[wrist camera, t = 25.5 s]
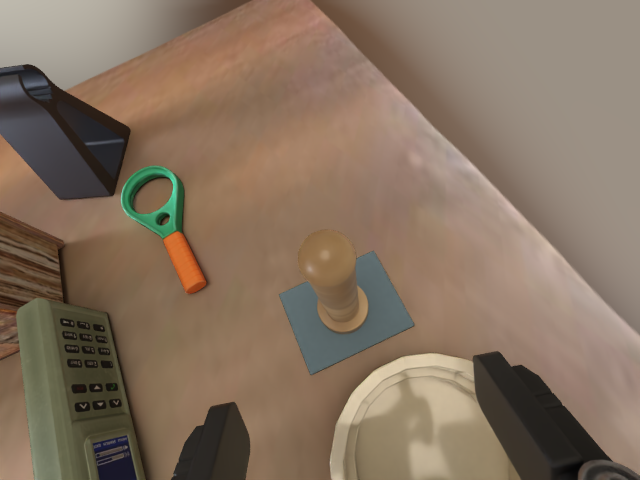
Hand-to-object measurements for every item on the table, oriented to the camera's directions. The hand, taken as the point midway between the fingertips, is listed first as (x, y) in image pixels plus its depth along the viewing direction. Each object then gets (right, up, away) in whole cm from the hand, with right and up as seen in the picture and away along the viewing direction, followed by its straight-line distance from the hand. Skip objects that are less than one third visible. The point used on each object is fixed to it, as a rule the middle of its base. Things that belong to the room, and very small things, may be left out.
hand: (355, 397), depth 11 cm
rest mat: (+1, -1, +17) cm, 17 cm away
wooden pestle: (+1, 0, +16) cm, 16 cm away
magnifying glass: (-16, +6, +22) cm, 28 cm away
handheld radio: (-16, -12, +15) cm, 25 cm away
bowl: (+6, -10, +12) cm, 17 cm away
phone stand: (-26, +14, +27) cm, 40 cm away
